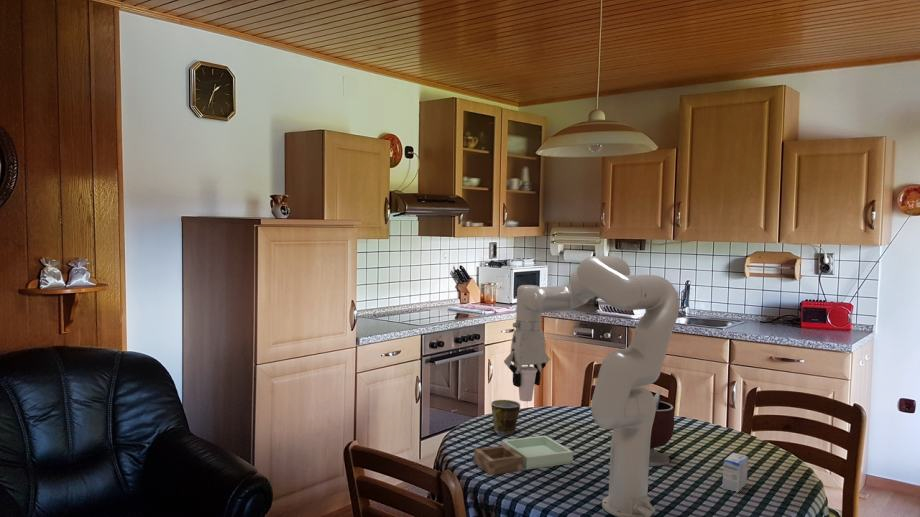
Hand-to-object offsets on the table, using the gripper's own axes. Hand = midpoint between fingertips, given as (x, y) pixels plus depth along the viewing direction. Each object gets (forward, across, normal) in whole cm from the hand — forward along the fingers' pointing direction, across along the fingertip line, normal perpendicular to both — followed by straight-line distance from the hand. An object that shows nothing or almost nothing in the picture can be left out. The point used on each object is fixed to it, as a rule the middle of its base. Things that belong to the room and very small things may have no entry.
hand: (526, 384), depth 195 cm
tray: (+23, +5, +1) cm, 24 cm away
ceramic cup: (+23, +7, +25) cm, 35 cm away
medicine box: (+24, +45, -39) cm, 64 cm away
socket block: (+23, -10, -1) cm, 25 cm away
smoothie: (+5, 0, 0) cm, 5 cm away
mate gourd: (+24, +39, -12) cm, 47 cm away
